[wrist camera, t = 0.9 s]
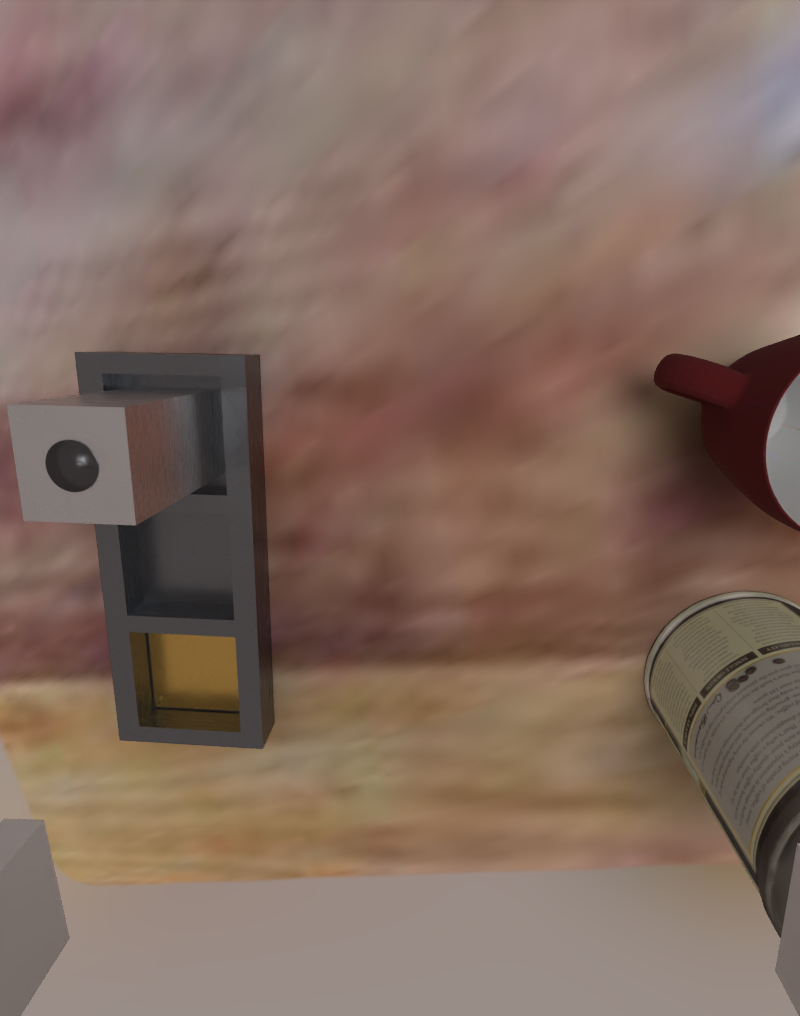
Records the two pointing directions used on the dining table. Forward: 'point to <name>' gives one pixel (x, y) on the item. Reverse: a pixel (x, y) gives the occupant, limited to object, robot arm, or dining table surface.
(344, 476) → the dining table surface
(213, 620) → the grey compartment tray
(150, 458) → the grey block with knob
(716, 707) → the coffee can
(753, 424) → the mug
